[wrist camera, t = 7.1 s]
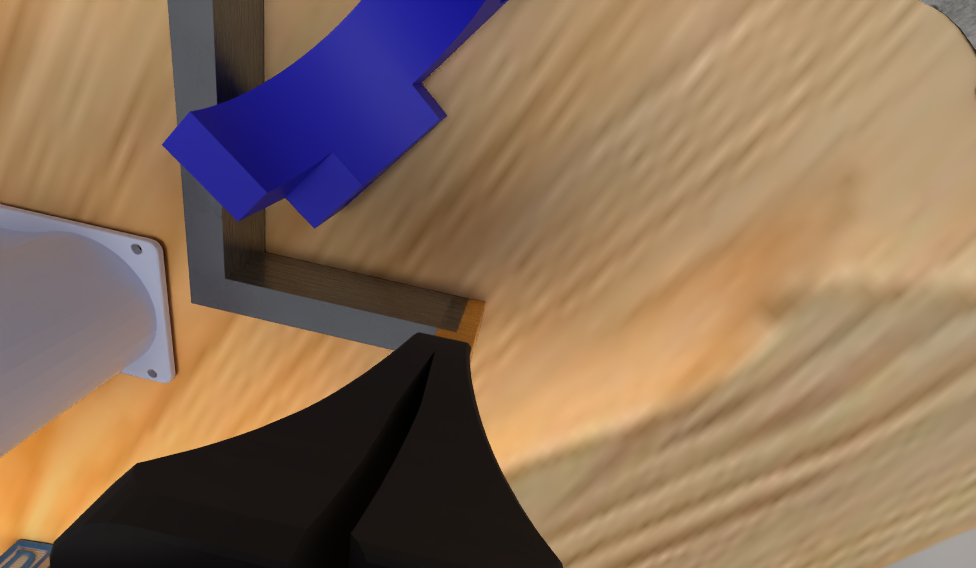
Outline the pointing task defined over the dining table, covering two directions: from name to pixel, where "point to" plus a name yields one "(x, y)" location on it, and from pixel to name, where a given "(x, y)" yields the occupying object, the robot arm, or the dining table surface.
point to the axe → (959, 14)
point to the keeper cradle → (241, 244)
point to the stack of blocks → (26, 555)
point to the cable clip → (329, 111)
